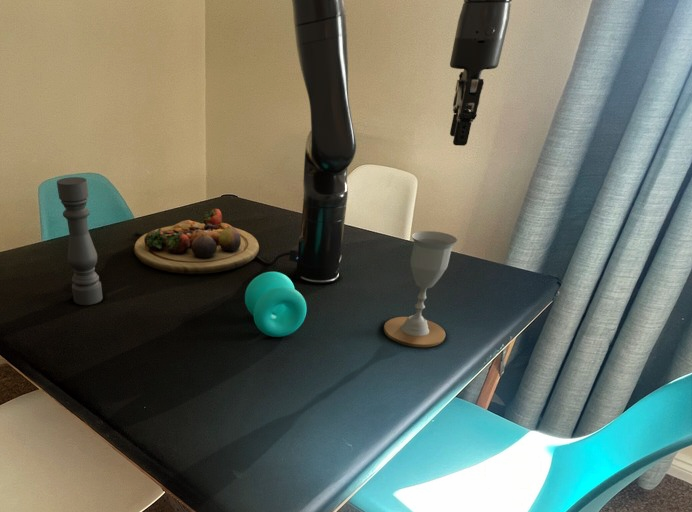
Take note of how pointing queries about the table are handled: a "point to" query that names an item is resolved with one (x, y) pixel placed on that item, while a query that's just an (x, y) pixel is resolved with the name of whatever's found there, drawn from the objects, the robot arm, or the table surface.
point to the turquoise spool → (275, 304)
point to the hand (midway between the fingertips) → (457, 140)
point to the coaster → (396, 334)
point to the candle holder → (80, 241)
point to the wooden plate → (197, 246)
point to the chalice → (427, 272)
